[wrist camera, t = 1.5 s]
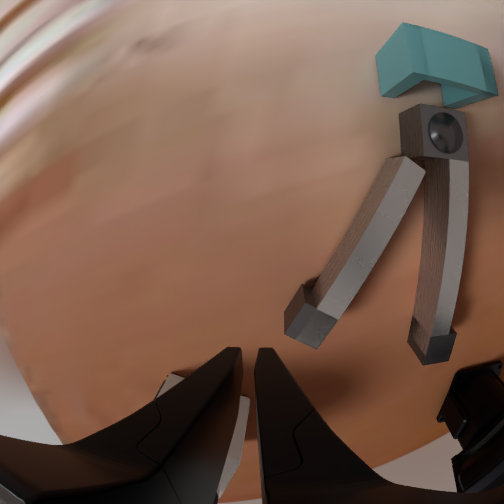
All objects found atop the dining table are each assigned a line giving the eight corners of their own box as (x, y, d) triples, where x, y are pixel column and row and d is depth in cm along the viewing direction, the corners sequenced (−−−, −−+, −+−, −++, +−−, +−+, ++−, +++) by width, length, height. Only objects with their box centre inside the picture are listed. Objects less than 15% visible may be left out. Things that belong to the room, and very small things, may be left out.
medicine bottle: (168, 370, 22) (106, 483, 11) (252, 396, 22) (230, 524, 10) (161, 420, 24) (115, 516, 13) (231, 442, 24) (209, 547, 12)
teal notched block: (375, 55, 15) (402, 22, 10) (448, 70, 14) (488, 49, 9) (380, 96, 15) (412, 71, 10) (454, 108, 15) (498, 95, 10)
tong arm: (377, 151, 16) (394, 148, 13) (405, 171, 16) (425, 171, 13) (284, 311, 19) (284, 334, 17) (312, 325, 20) (316, 349, 17)
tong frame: (398, 113, 16) (421, 103, 12) (448, 121, 15) (475, 114, 12) (386, 343, 20) (400, 369, 16) (431, 338, 19) (449, 361, 16)
